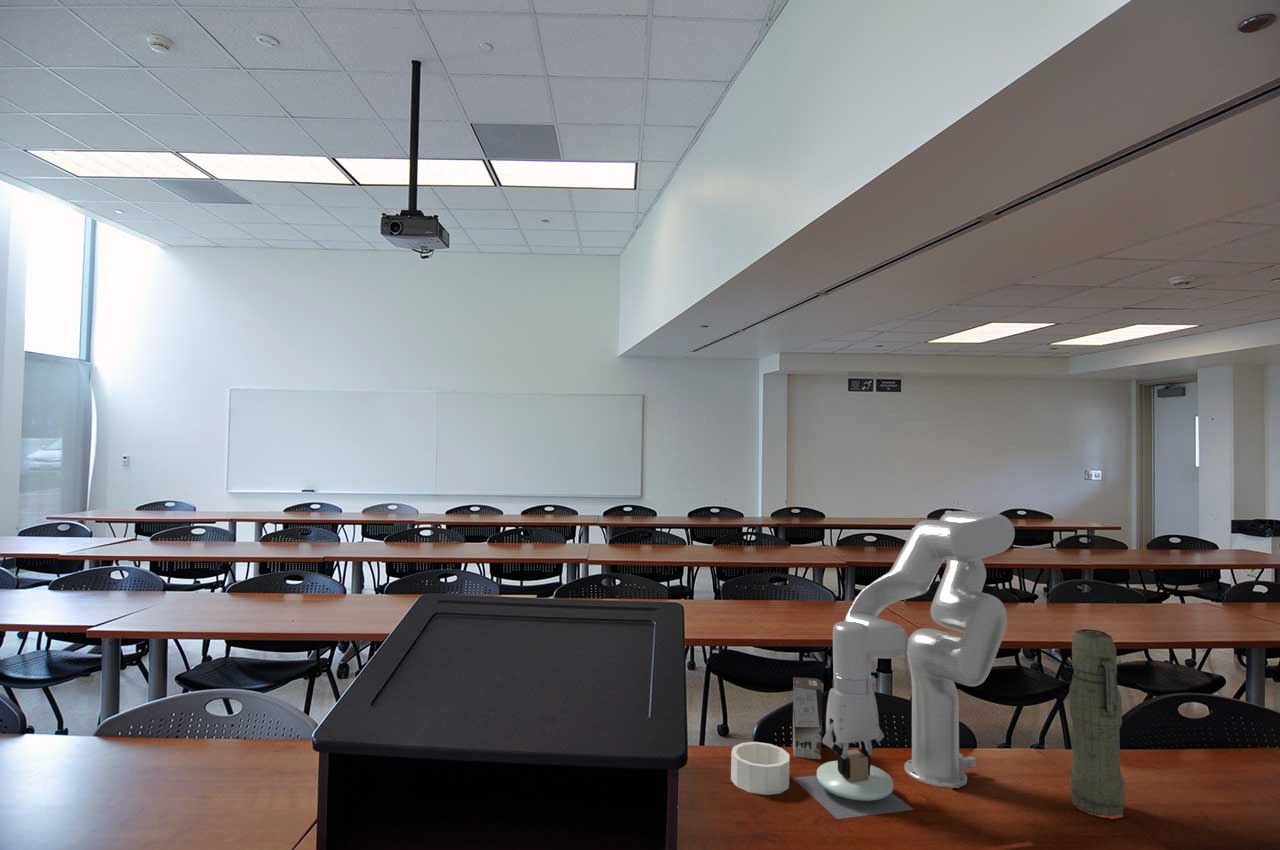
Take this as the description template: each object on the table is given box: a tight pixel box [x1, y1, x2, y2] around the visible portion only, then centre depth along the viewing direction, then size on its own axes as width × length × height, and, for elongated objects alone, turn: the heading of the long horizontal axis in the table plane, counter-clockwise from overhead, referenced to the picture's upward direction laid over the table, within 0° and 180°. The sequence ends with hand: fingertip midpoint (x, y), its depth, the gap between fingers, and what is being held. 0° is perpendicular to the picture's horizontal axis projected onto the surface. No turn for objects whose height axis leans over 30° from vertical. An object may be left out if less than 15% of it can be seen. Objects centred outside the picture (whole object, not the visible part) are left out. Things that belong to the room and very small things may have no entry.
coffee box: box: [792, 676, 823, 760], centre depth 155 cm, size 9×6×16 cm
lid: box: [816, 748, 894, 801], centre depth 134 cm, size 15×15×6 cm
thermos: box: [1068, 628, 1125, 816], centre depth 133 cm, size 9×12×35 cm
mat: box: [792, 774, 914, 820], centre depth 133 cm, size 17×17×1 cm
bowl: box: [730, 741, 791, 796], centre depth 138 cm, size 12×12×6 cm
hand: (854, 773), depth 134 cm, fingers closed on lid, 4 cm apart
